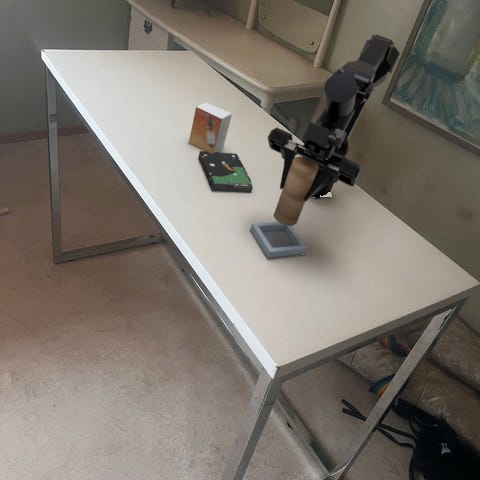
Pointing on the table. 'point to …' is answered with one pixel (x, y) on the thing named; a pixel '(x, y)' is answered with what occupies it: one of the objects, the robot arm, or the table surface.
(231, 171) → the disk drive
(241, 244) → the table surface
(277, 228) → the collar
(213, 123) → the small box
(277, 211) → the walnut pin
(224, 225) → the table surface
